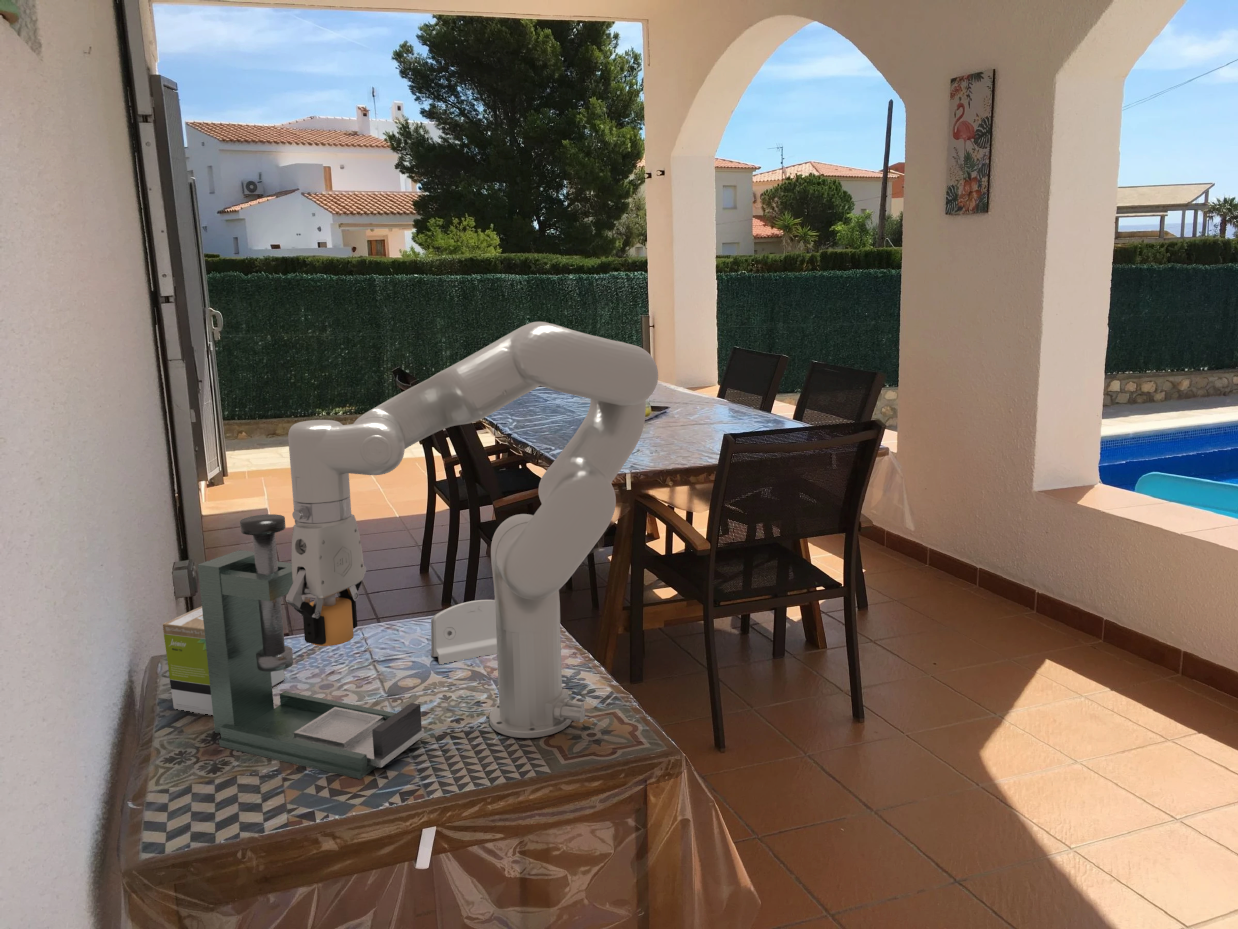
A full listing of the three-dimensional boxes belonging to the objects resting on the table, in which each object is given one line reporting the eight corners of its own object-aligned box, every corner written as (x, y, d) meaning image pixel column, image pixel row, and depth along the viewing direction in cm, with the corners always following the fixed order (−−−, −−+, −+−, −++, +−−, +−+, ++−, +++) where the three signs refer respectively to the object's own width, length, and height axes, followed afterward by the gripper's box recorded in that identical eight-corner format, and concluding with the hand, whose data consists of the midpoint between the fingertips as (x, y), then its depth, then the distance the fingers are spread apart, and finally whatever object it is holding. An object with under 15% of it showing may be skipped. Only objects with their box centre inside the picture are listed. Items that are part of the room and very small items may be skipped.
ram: (305, 660, 141) (293, 516, 137) (276, 675, 136) (263, 526, 132) (274, 654, 144) (261, 512, 140) (244, 669, 138) (230, 522, 134)
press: (421, 734, 140) (411, 564, 135) (360, 779, 128) (346, 594, 123) (268, 702, 152) (254, 545, 147) (198, 741, 139) (180, 570, 134)
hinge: (437, 665, 165) (429, 608, 167) (431, 665, 170) (423, 609, 171) (528, 647, 173) (519, 593, 174) (519, 648, 177) (511, 594, 178)
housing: (362, 633, 136) (359, 590, 135) (334, 648, 131) (331, 603, 129) (328, 628, 138) (325, 585, 137) (300, 642, 133) (296, 598, 132)
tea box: (237, 673, 163) (229, 591, 161) (286, 680, 160) (279, 596, 157) (170, 710, 149) (160, 621, 147) (222, 719, 146) (212, 628, 143)
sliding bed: (424, 735, 137) (422, 702, 137) (381, 767, 128) (378, 733, 128) (338, 717, 144) (336, 686, 143) (291, 747, 134) (288, 714, 134)
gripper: (300, 527, 122) (310, 661, 125) (384, 499, 137) (391, 618, 141) (255, 522, 125) (266, 653, 128) (342, 495, 140) (350, 612, 144)
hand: (331, 633), depth 134 cm, fingers closed on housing, 6 cm apart
